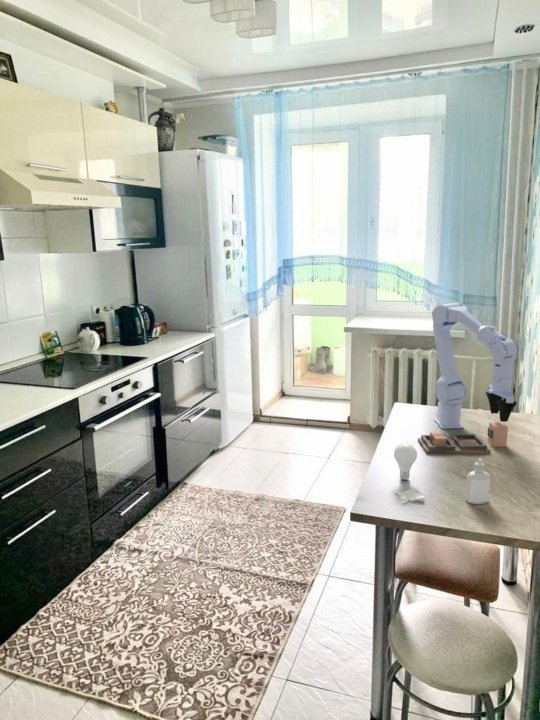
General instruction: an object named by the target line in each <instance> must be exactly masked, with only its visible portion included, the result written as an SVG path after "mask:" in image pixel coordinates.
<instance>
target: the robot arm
mask: <svg viewBox="0 0 540 720" xmlns="http://www.w3.org/2000/svg"><path fill="white" fill-rule="evenodd" d="M431 317H432V322H433V324H432V329H433V337H434V342H435V348H436V353H437V360H438V366H439V370H440V377H439V378H438V380H437V381H436V382H435V385H436V389H435V395H436V399H437V400H438V403H437V413H436V414H437V416H436V417H435V418H434V421H435V422H436V424H437V425H438V426H439V428H441V429H443V430H444V429H447V430H448V429H464V428H465V426H464V425H463V424H462V423H461V415H462V403H463V401H464V399H465V398H466V397H467V396H468V395H467V394H468V388H467V386H466V385H465V382H464V378H463V377H462V376H461V375H459V374H458V372H457V366H456V360H455V355H454V349H453V343H452V337H451V336H452V335H451V329H452V328H453V326H455V325H456V324H458V323H460V324H462V325H463V326H465V327H467V328H468V329H469V330H470V331H472V332H474V334H476V339H477V340H478V341H479V342H480V343H482V345H484V346H485V347H487V348H488V349H489V350H490V355H491V356H492V362H493V368H492V380H491V383H489V387H488V388H489V389H488V390H487V391H485V395H486V396H487V401H488V404H489V410H490V413H491V415H492V414H498V413H499V422H504V423H505V422H508V421H509V419H510V417H511V413H512V411H513V410H514V409H515V407H516V406H517V405H518V402H517V401H515V400H514V399H515V396H513V392H512V384H513V383H512V382H513V375H514V374H513V373H514V360H515V359H514V358H515V357H516V356H517V355H518V354H519V350H520V349H519V348H520V347H519V345H518V343H517V341H516V340H515V339H514V338H507V337H506V336H505V335H504V334H501V333H500V332H499V331H497V330H496V329H495V326H493V325H483V323H481V322H480V321H479V320H478V319H477V318H476V317H475V316H474V315H473V314H471V312H469V311H468V307H467V306H465V305H464V304H463V303H461V302H459V301H457V302H453V303H452V302H451V303H443V304H437V305H436V306H435V307H434V308H433V310H432V312H431Z"/></svg>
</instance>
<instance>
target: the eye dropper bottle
mask: <svg viewBox="0 0 540 720" xmlns="http://www.w3.org/2000/svg"><path fill="white" fill-rule="evenodd" d="M485 466H486V465H485V463H484V462H483V461H482V458H478V460H477V461H476V462H474V467H473V470H471V471H470V472H468V474H467V476H466V486H465V487H466V489H465V501H467V502H468V503H469V504H473V505H474V504H475V505H482V504H487V503H488V502H489V500H490V490H491V489H490V487H491V475H490V474H489V473H488V472H487V471H485Z"/></svg>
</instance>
